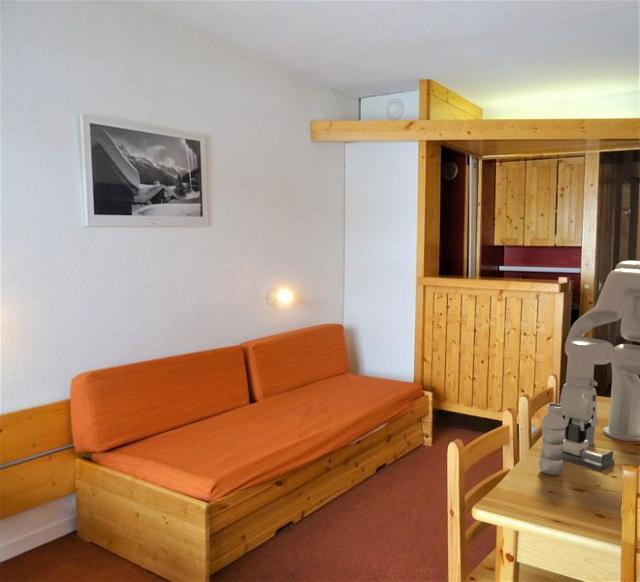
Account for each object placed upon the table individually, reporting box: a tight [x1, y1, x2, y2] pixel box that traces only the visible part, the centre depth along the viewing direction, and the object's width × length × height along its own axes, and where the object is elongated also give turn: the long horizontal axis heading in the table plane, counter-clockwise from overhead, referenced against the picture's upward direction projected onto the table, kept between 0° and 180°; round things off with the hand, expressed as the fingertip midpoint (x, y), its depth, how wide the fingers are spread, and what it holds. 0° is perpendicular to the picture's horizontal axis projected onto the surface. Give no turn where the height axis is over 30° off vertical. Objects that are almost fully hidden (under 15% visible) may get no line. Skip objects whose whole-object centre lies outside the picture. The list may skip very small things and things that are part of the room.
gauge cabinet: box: [563, 418, 596, 446], centre depth 198 cm, size 8×7×8 cm
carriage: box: [563, 423, 589, 456], centre depth 184 cm, size 7×5×8 cm
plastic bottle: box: [538, 403, 566, 476], centre depth 170 cm, size 6×7×20 cm
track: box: [563, 449, 616, 472], centre depth 182 cm, size 9×14×4 cm, turn 40°
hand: (575, 439), depth 184 cm, fingers closed on carriage, 3 cm apart
